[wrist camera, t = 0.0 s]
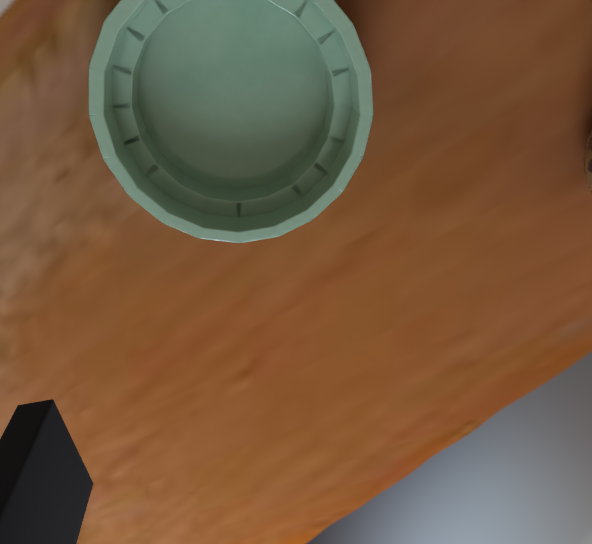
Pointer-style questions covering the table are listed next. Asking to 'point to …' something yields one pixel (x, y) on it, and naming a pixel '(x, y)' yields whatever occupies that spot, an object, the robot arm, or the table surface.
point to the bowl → (231, 111)
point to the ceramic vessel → (588, 160)
